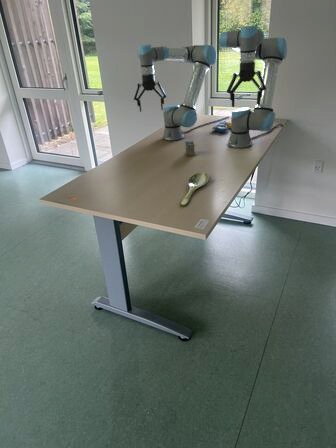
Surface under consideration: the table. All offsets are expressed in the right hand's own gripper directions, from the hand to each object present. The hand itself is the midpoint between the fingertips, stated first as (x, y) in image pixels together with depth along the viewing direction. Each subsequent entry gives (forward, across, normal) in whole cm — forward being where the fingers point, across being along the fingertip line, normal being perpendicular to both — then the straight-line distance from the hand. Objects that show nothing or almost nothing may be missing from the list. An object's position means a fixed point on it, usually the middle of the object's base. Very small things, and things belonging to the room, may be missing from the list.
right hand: (245, 105), depth 179 cm
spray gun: (+33, +3, +72) cm, 79 cm away
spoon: (+33, -33, -30) cm, 55 cm away
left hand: (+6, -51, +35) cm, 62 cm away
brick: (+33, -29, +23) cm, 49 cm away
